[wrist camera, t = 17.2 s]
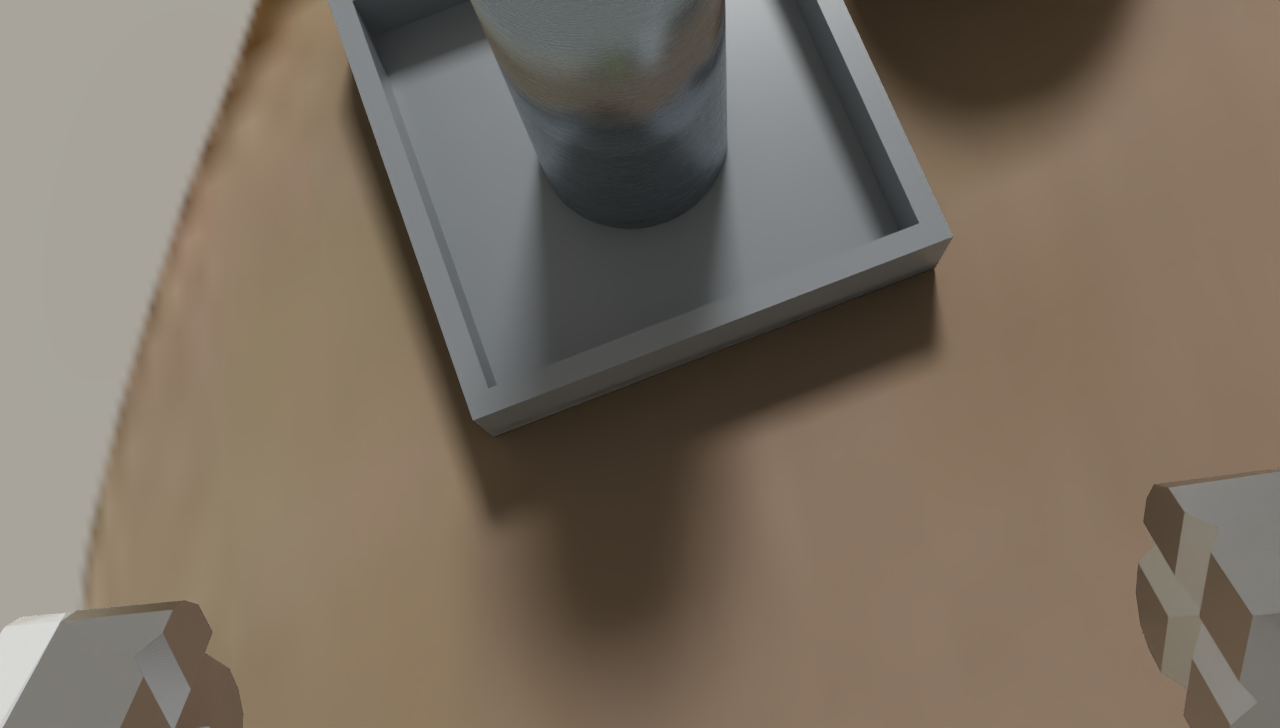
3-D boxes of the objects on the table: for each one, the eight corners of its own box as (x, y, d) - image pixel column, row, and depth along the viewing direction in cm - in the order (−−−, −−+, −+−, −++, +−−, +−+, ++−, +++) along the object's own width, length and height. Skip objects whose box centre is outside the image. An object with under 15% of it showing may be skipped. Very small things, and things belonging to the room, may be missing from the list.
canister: (687, 25, 32) (660, -324, 20) (755, 188, 30) (769, -80, 19) (513, 91, 31) (383, -220, 20) (576, 256, 30) (475, 31, 19)
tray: (758, -117, 33) (761, -177, 31) (935, 267, 30) (953, 236, 28) (353, 36, 33) (323, -11, 30) (493, 437, 30) (473, 420, 28)
